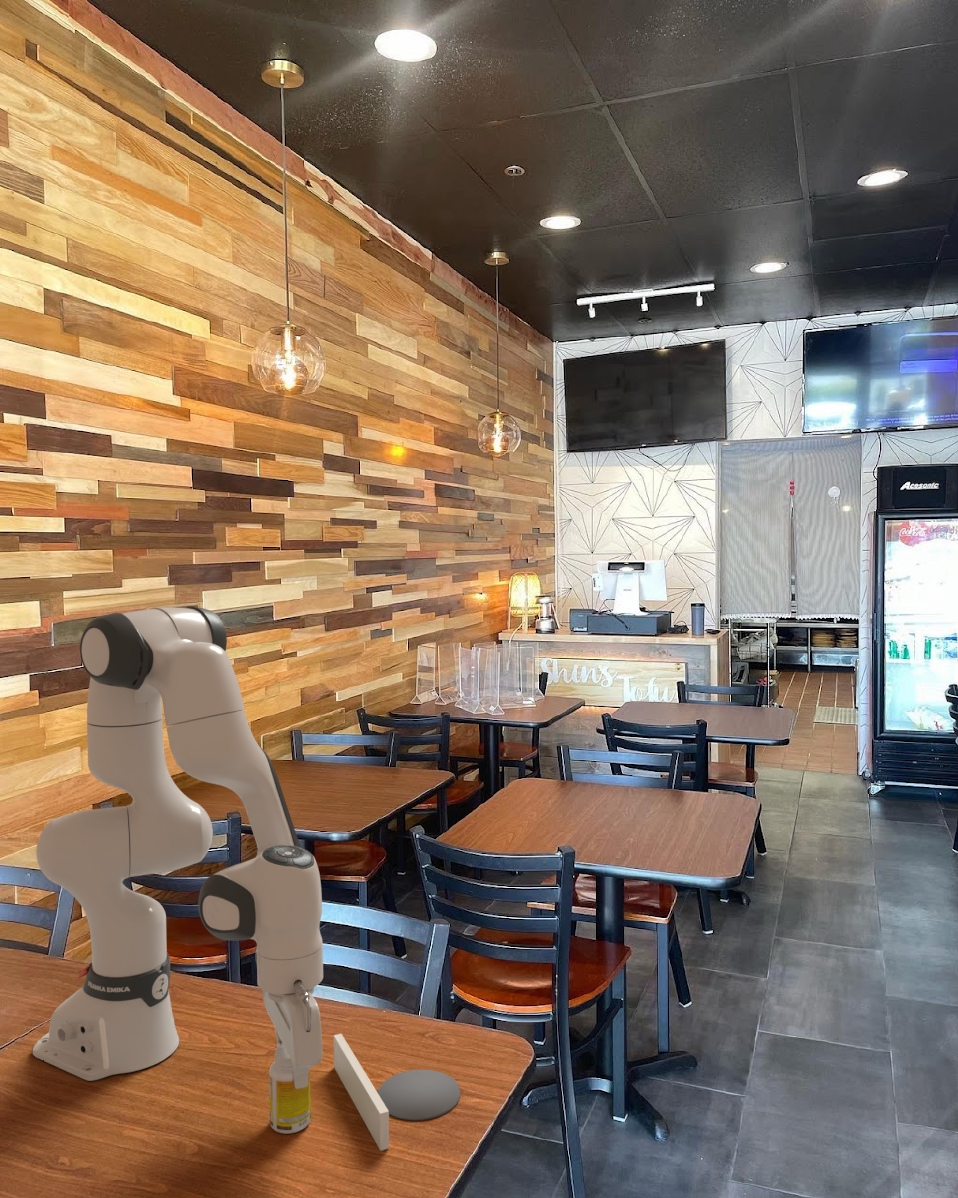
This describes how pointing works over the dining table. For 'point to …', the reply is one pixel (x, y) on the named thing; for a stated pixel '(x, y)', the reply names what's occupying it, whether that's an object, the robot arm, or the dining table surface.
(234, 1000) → the dining table surface
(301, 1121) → the supplement bottle
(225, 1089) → the dining table surface
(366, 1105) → the low wall
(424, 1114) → the rest mat
